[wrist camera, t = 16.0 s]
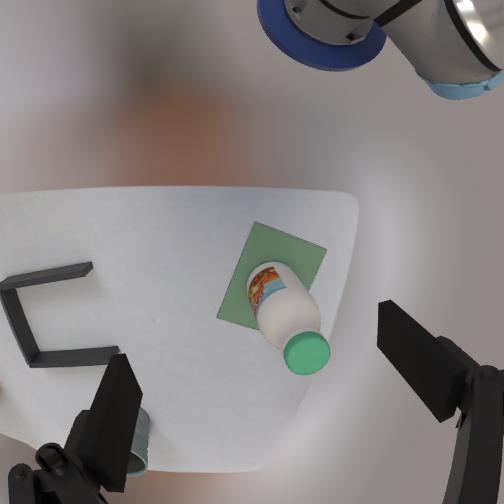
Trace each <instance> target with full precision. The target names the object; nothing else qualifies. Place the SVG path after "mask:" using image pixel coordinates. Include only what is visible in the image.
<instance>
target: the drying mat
mask: <svg viewBox="0 0 504 504" xmlns="http://www.w3.org/2000/svg"><path fill="white" fill-rule="evenodd" d="M326 251H327V249H324V248H322V247H319V246H317V245H314V244H312V243H309V242H307V241H304V240H302V239H299V238H296V237H294V236H291V235H289V234H286V233H284V232H281V231H278V230H276V229H273V228H271V227H268V226H265V225H263V224H260V223H257V222H255V223H254V225H253V228H252V230H251V233H250V235H249V238H248V240H247V243H246V245H245V248H244V250H243V253H242V255H241V258H240V260H239V262H238V265H237V267H236V270H235V272H234V275H233V277H232V280H231V282H230V285H229V287H228V290H227V292H226V295H225V297H224V300H223V302H222V305H221V307H220V310H219V312H218V315H217V318H219V319H223V320H226V321H229V322H233V323H236V324H239V325H243V326H246V327H250V328H253V329H257V330H260V329H259V327H258V325H257V322H256V319H255V316H254V313H253V310H252V307H251V303H250V300H249V297H248V293H247V281H248V278H249V276H250V274H251V273H252V271H253V270H254V269H255V268H257V267H258V266H259V265H261V264H264V263H267V262H280V263H283V264H285V265H287V266H288V267H290V268H291V269H292V271H293V272H294V273H295V274H296V276H297V277H298V278H299V279H300V281H301V282H302V283H303V285H304V286H305V287H306V289H307V290H309V288H310V286H311V284H312V282H313V279H314V277H315V275H316V273H317V271H318V268H319V266H320V264H321V262H322V260H323V257H324V255H325V253H326Z"/></svg>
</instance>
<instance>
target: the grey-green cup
mask: <svg viewBox="0 0 504 504" xmlns="http://www.w3.org/2000/svg"><path fill="white" fill-rule="evenodd" d="M149 423H150V422H149V417H148V415H147V414H146V412H145V411H144V410H143V409H142V408H140V409H139V414H138V418H137V423H136V428H135V433H134V438H133V443H132V448H131V454H130V459H129V465H128V470H127V476H126V477H135V476H139V475H142V474H144V473H145V472H146V471H147V467H148V456H147V453H148V451H147V448H148V439H149V436H148V434H149Z"/></svg>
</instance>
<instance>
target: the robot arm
mask: <svg viewBox="0 0 504 504" xmlns="http://www.w3.org/2000/svg"><path fill="white" fill-rule="evenodd" d="M283 8H284V11H285V14H286V16H287V18H288V20H289V21H290V23H291V24H292V25H293V26H294V28H295V29H296V30H297V31H299V32H300V33H301V34H302V35H304V36H305V37H307V38H308V39H310V40H312V41H314V42H316V43H319V44H321V45H325V46H329V47H347V46H350V45H353V44H355V43H357V42H359V41H362V40H364V39H365V37H366V35H367V34H368V33H369V31H370V30H371V27H372V24H373V22H375V23H376V24H377V25H378V26H379V27H380V28H381V29H382V31H383V32H384V33H385V34H386V35H387V36H388V37H389V38H390V39H391V40H392V42H393V43H394V44H395V45H396V46H397V47H398V49H399V50H400V51H401V52H402V53H403V54H404V56H405V57H406V58H407V59H408V61H409V62H410V63H411V64H412V65H413V67H414V68H415V70H416V73H417V74H418V75H419V76H420V77H421V78H422V79H423V80H424V81H425V82H426V83H427V84H428V86H429V87H430V88H431V90H432V91H433V92H434V93H436V94H437V95H439V96H440V97H443V98H446V99H451V100H460V99H468V98H472V97H476V96H478V95H481V94H483V93H484V91H485V90H491V89H493V88H494V87H496V86H497V85H498V84H499V83H500V81H501V80H502V77H503V70H504V0H283ZM378 304H379V305H378V335H377V347H378V348H379V349H380V350H381V351H382V353H383V354H384V355H385V356H386V357H387V359H388V360H389V361H390V362H391V363H392V364H393V366H394V367H395V368H396V369H397V371H398V372H399V373H400V374H401V375H402V377H403V378H404V379H405V380H406V382H407V383H408V384H409V385H410V386H411V388H412V389H413V390H414V391H415V393H416V394H417V395H418V396H419V397H420V399H421V400H422V401H423V402H424V404H425V405H426V406H427V407H428V409H429V410H430V411H431V412H432V414H433V415H434V416H435V417H436V419H437V420H438V421H439V422H440V423H441V422H443V421H445V420H447V419H449V418H451V417H453V416H454V414H455V411H456V408H457V407H458V408H459V409H460V410H461V411H462V412H461V415H460V417H459V420H458V422H457V425H456V428H458V433H457V440H456V445H455V451H454V456H453V462H452V467H451V472H450V476H449V480H448V484H447V489H446V492H445V496H444V500H443V503H442V504H497V498H498V491H499V483H500V475H501V464H502V463H501V462H502V448H503V435H504V370H498V369H497V368H495V367H493V366H489V365H483V366H480V365H479V364H478V363H476V361H474V360H473V359H472V358H471V357H470V356H469V355H468V354H466V353H465V352H464V351H462V349H461V348H459V347H458V346H457V345H456V344H455V343H454V342H453V341H451V340H450V339H448V338H445V337H443V336H439V337H437V338H435V337H433V336H432V335H431V334H430V333H429V332H428V331H427V330H426V329H425V328H423V327H422V326H421V325H420V324H419V323H418V322H416V321H415V320H414V319H413V318H412V317H410V315H408V314H407V313H406V312H405V311H404V310H402V309H401V308H400V307H399V306H398V305H397V304H395V303H394V302H393V301H392V300H387V301H384V302H381V303H378ZM142 395H143V393H142V391H141V388H140V386H139V384H138V382H137V380H136V377H135V375H134V373H133V370H132V368H131V366H130V363H129V361H128V359H127V356H126V354H125V353H124V354H116V355H112V356H111V359H110V361H109V363H108V366H107V368H106V370H105V373H104V375H103V378H102V380H101V383H100V385H99V388H98V390H97V393H96V395H95V398H94V400H93V403H92V405H91V408H90V410H82V411H81V412H80V413H79V415H78V416H77V417H76V418H75V421H74V423H73V427H72V428H71V431H70V434H69V436H68V438H67V441H66V444H65V446H64V449H63V448H62V447H61V446H60V445H59V444H57V443H47V444H44V445H43V446H41V447H40V448H39V449H38V451H37V452H36V455H35V459H36V462H37V463H38V464H39V465H40V467H41V468H42V469H40V470H34V471H33V470H32V469H31V468H30V467H29V466H28V465H26V464H24V463H23V464H17V465H15V466H14V467H13V468H12V469H11V470H10V472H9V475H8V488H9V503H10V504H109V503H108V502H107V500H106V499H105V498H104V496H103V495H102V494H101V493H100V487H101V485H102V486H103V487H104V488H105V490H106V491H107V492H121V493H123V492H124V488H125V482H126V476H127V470H128V465H129V459H130V454H131V448H132V443H133V438H134V433H135V428H136V423H137V418H138V414H139V409H140V404H141V400H142Z"/></svg>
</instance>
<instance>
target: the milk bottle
mask: <svg viewBox="0 0 504 504" xmlns="http://www.w3.org/2000/svg"><path fill="white" fill-rule="evenodd" d="M247 293H248V297H249V300H250V303H251V307H252V310H253V313H254V316H255V319H256V322H257V325H258V327H259V329H260V332H261V333H262V335H263V337H264V338H265V339H266V340H267V341H268V342H269V343H270V344H271V345H272V346H274V347H275V348H277V349H279V350H281V351H282V354H283V357H284V359H285V362H286V364H287V366H288V368H289V369H290V370H291V371H292V372H294V373H296V374H299V375H309V374H313V373H315V372H317V371H319V370H320V369H321V368H323V367H324V366H325V365H326V363H327V362H328V360H329V357H330V347H329V344H328V343H327V341H326V339H325V338H324V337H323V335H322V334H321V333H320V332H319V330H320V324H321V318H320V312H319V309H318V306H317V304H316V302H315V300H314V299H313V297H312V296H311V294H310V293H309V291H308V290H307V289H306V287H305V286H304V285H303V283H302V282H301V281H300V279H299V278H298V277H297V276H296V274H295V273H294V272H293V271H292V269H291V268H290V267H288V266H287V265H285V264H283V263H280V262H267V263H264V264H261V265H259V266H258V267H257V268H255V269H254V270H253V271H252V273H251V274H250V276H249V278H248V281H247Z"/></svg>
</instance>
